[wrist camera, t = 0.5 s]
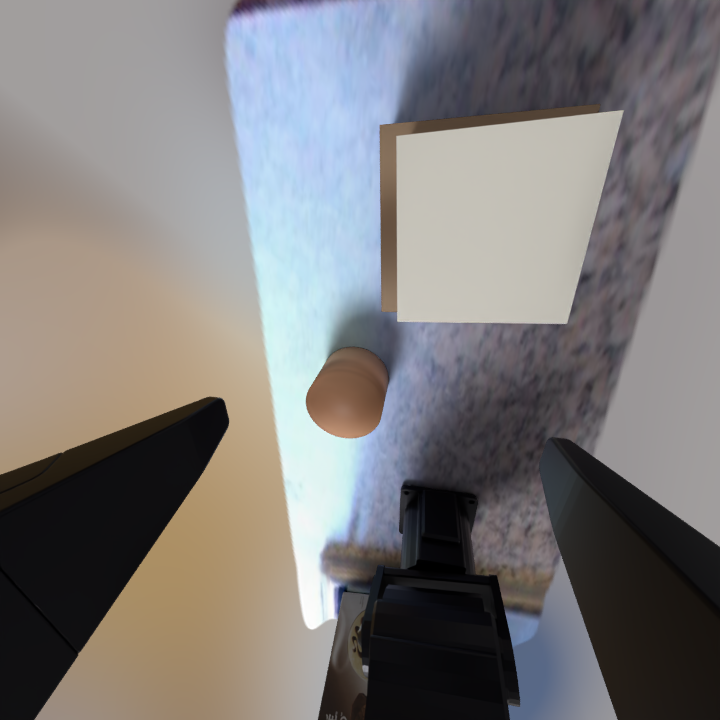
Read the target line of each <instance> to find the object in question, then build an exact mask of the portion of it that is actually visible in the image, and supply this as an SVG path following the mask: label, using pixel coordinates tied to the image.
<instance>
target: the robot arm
mask: <svg viewBox="0 0 720 720" xmlns="http://www.w3.org/2000/svg"><path fill="white" fill-rule="evenodd" d="M228 426H229V418H228V414H227V409H226V405H225V402H224V400H223V399H222V398H217V397H206V398H204V399H201V400H199V401H196V402H193V403H191V404H188V405H185V406H183V407H180V408H177V409H175V410H172V411H169V412H167V413H164V414H162V415H159V416H156V417H154V418H151V419H148V420H146V421H143V422H140V423H138V424H135V425H132V426H130V427H127V428H125V429H122V430H119V431H117V432H114V433H112V434H109V435H106V436H103V437H101V438H98V439H96V440H93V441H90V442H88V443H85V444H83V445H80V446H77V447H75V448H72V449H69V450H67V451H65V452H64V453H58V454H56V455H53V456H50V457H48V458H45V459H43V460H40V461H37V462H34V463H32V464H29V465H26V466H23V467H21V468H18V469H15V470H13V471H10V472H7V473H4V474H1V475H0V720H34V719H35V718H36V717H37V715H38V713H39V712H40V711H41V709H42V708H43V706H44V705H45V703H46V702H47V700H48V699H49V698H50V696H51V695H52V693H53V692H54V690H55V689H56V687H57V686H58V684H59V683H60V681H61V680H62V678H63V677H64V676H65V674H66V673H67V671H68V669H69V668H70V667H71V665H72V664H73V662H74V661H75V659H76V658H77V656H78V653H79V652H80V651H81V650H82V649H83V647H84V646H85V644H86V643H87V641H88V640H89V639H90V637H91V636H92V634H93V633H94V631H95V630H96V628H97V627H98V625H99V624H100V622H101V621H102V620H103V618H104V617H105V615H106V614H107V612H108V611H109V609H110V608H111V606H112V605H113V603H114V602H115V600H116V599H117V597H118V596H119V594H120V593H121V592H122V590H123V589H124V587H125V586H126V584H127V583H128V582H129V580H130V578H131V577H132V576H133V574H134V573H135V571H136V570H137V568H138V567H139V565H140V564H141V563H142V561H143V559H144V558H145V557H146V555H147V554H148V552H149V551H150V549H151V548H152V546H153V545H154V544H155V542H156V541H157V539H158V537H159V536H160V535H161V533H162V532H163V530H164V529H165V527H166V526H167V524H168V523H169V522H170V520H171V519H172V517H173V516H174V514H175V513H176V511H177V510H178V508H179V507H180V505H181V504H182V502H183V501H184V500H185V498H186V497H187V495H188V494H189V492H190V491H191V489H192V488H193V486H194V485H195V484H196V482H197V481H198V479H199V478H200V476H201V475H202V473H203V471H204V470H205V468H206V466H207V465H208V463H209V461H210V459H211V457H212V456H213V454H214V452H215V450H216V448H217V447H218V445H219V443H220V441H221V439H222V438H223V436H224V434H225V432H226V430H227V428H228ZM539 469H540V475H541V479H542V484H543V488H544V493H545V497H546V502H547V506H548V511H549V515H550V520H551V524H552V528H553V531H554V535H555V538H556V541H557V544H558V547H559V550H560V553H561V556H562V559H563V561H564V564H565V567H566V570H567V573H568V576H569V579H570V582H571V585H572V588H573V591H574V594H575V597H576V599H577V602H578V605H579V608H580V611H581V614H582V617H583V620H584V623H585V626H586V629H587V632H588V634H589V637H590V640H591V643H592V646H593V649H594V652H595V655H596V658H597V661H598V663H599V667H600V669H601V672H602V675H603V678H604V681H605V684H606V687H607V690H608V692H609V696H610V699H611V702H612V704H613V707H614V710H615V713H616V716H617V719H618V720H720V547H719V546H718V545H717V544H715V543H714V542H712V541H711V540H709V539H708V538H707V537H705V536H704V535H703V534H701V533H700V532H698V531H697V530H695V529H694V528H693V527H691V526H690V525H688V524H687V523H686V522H684V521H683V520H681V519H680V518H679V517H677V516H676V515H674V514H673V513H672V512H670V511H669V510H667V509H666V508H665V507H663V506H662V505H660V504H659V503H658V502H656V501H655V500H653V499H652V498H650V497H649V496H648V495H646V494H645V493H644V492H642V491H641V490H639V489H638V488H637V487H635V486H634V485H632V484H631V483H630V482H628V481H627V480H625V479H624V478H623V477H621V476H620V475H618V474H617V473H616V472H614V471H613V470H611V469H610V468H609V467H607V466H606V465H604V464H603V463H601V462H600V461H599V460H597V459H596V458H594V457H593V456H592V455H590V454H589V453H587V452H586V451H585V450H583V449H582V448H580V447H579V446H578V445H576V444H575V443H573V442H572V441H571V440H569V439H564V438H555V437H551V438H549V439H548V440H547V443H546V445H545V448H544V451H543V454H542V457H541V460H540V464H539ZM477 505H478V500H477V497H476V496H475V495H473V494H466V493H459V492H452V491H444V490H437V489H430V488H423V487H415V486H408V485H404V486H402V487H401V498H400V522H399V532H400V533H401V534H403V536H402V550H401V563H400V568H391V567H385V566H384V565H378V567H377V571H376V575H374V578H373V582H372V586H371V590H370V594H369V597H368V601H367V605H366V609H365V613H364V617H363V621H362V624H361V626H360V629H359V631H358V637H357V640H358V643H359V645H360V647H361V649H362V667H363V673H364V676H365V677H366V678H368V683H367V698H366V707H365V716H364V720H510V718H509V710H508V705H513V706H518V707H520V696H519V687H518V679H517V672H516V666H515V660H514V654H513V648H512V643H511V638H510V633H509V628H508V624H507V619H506V615H505V610H504V606H503V601H502V597H501V592H500V587H499V583H498V578H497V575H490V574H489V576H484V575H476V571H475V564H474V556H473V548H472V540H471V532H472V527H473V523H474V518H475V514H476V509H477Z"/></svg>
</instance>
